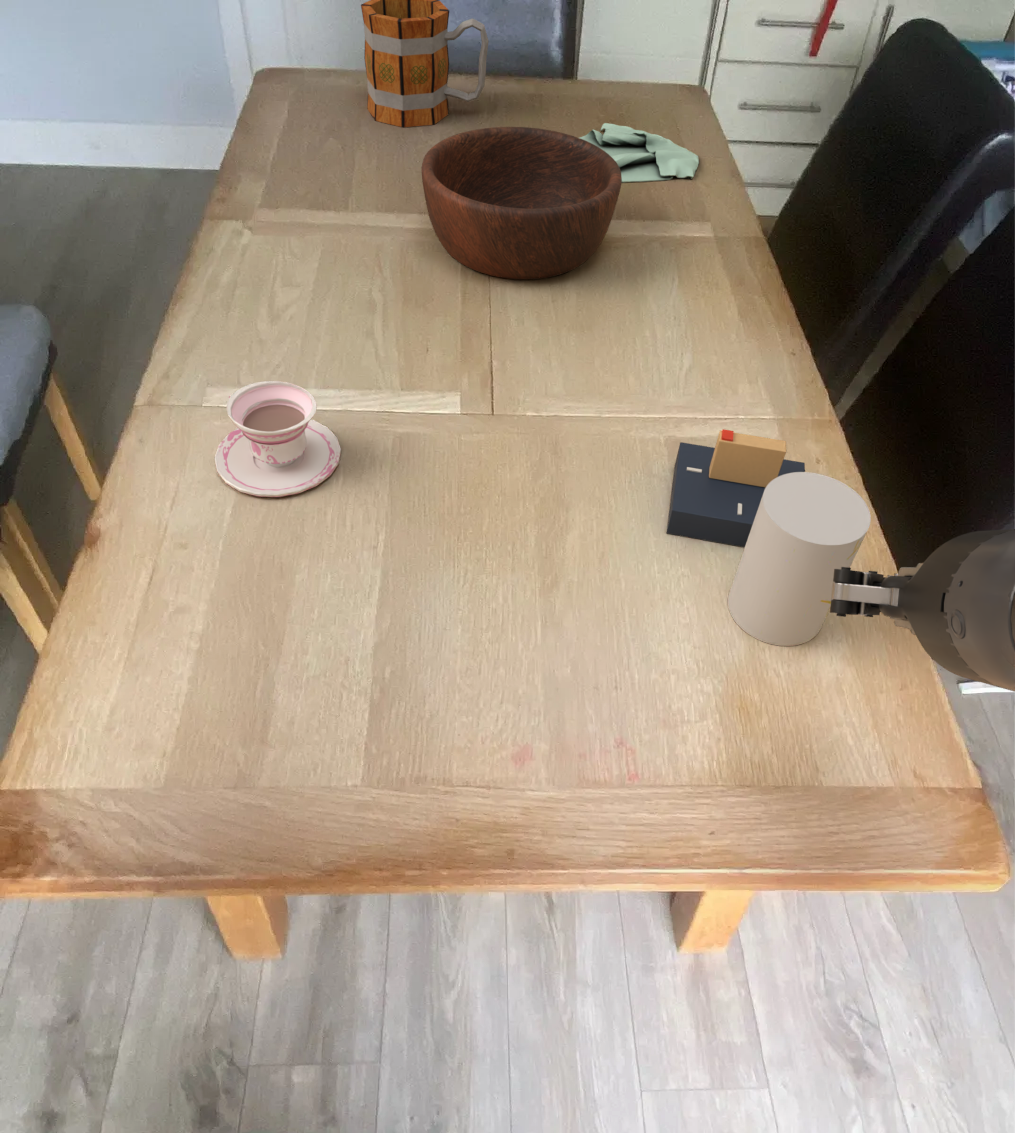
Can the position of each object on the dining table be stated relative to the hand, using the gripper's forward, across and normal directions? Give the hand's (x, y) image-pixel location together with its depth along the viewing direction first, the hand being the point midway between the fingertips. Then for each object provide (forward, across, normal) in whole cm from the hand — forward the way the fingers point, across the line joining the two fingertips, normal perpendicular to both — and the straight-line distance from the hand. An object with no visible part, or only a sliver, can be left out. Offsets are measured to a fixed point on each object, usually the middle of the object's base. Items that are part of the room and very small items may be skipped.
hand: (881, 594), depth 58 cm
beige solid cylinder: (+20, +1, +2) cm, 20 cm away
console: (+28, +4, -7) cm, 29 cm away
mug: (+91, +46, -71) cm, 124 cm away
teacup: (+29, +48, -7) cm, 57 cm away
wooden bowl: (+62, +28, -41) cm, 79 cm away
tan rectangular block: (+27, +4, -9) cm, 28 cm away
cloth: (+84, +13, -64) cm, 106 cm away
